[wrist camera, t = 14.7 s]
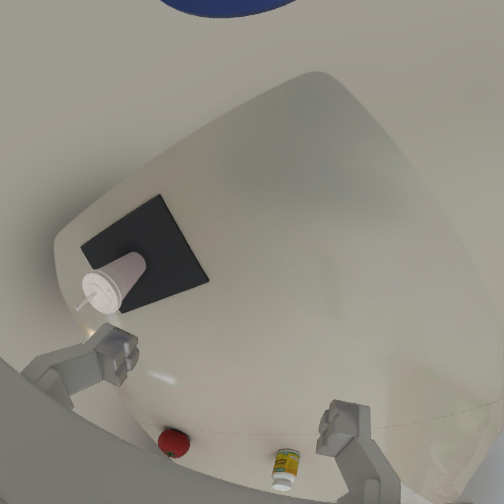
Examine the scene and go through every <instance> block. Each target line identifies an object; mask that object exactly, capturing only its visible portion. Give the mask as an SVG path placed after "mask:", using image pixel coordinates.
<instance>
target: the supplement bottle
mask: <svg viewBox="0 0 504 504" xmlns="http://www.w3.org/2000/svg"><path fill="white" fill-rule="evenodd" d="M299 458H300V455H299V453H298V452H296V451H294V450H289V449H285V450H280V451H279V452H278V453H277V457H276V461H275V465H274V469H273V473H272V479H273V480H274V482H273V485H272V487H273V488H274V489H276V490H280V491H288V490H290V489H291V485H292V484H291V483H292V482H294V481H295V479H296V475H297V469H298V464H299Z"/></svg>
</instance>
